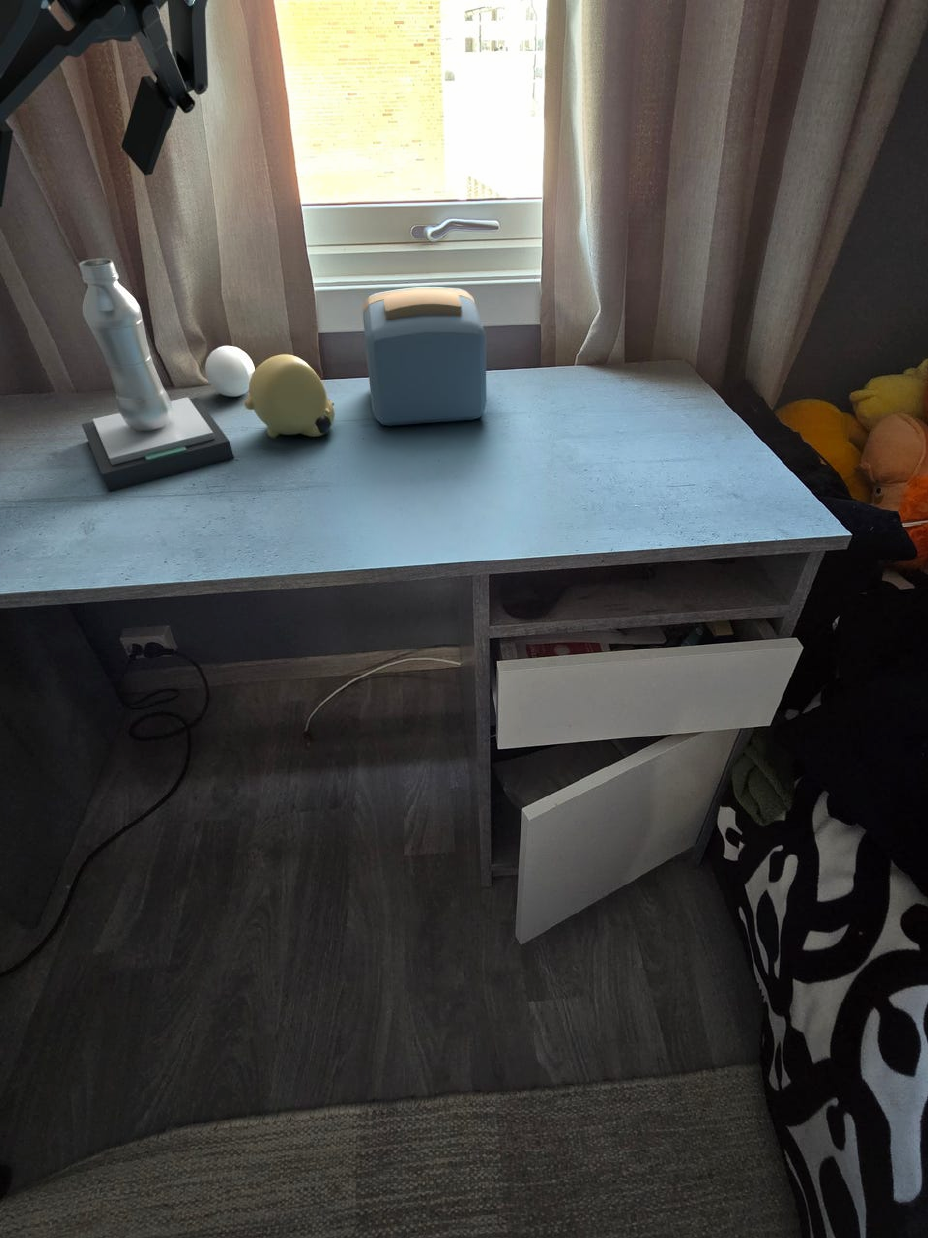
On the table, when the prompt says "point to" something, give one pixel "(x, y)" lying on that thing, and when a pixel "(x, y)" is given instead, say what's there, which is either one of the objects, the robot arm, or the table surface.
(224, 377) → the white egg
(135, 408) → the plastic bottle
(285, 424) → the yellow round figure
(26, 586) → the table surface
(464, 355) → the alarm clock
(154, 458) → the scale
